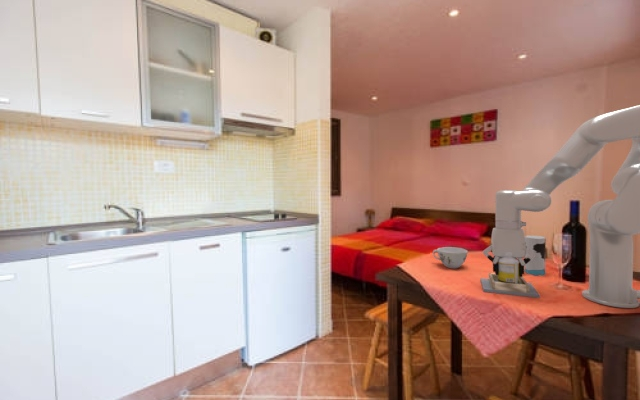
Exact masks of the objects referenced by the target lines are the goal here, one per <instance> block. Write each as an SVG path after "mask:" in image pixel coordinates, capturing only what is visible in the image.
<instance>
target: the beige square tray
mask: <svg viewBox="0 0 640 400" xmlns="http://www.w3.org/2000/svg"><path fill="white" fill-rule="evenodd" d="M488 279H489V282H490V284H491V287H492V289H495V290H504V291H514V292H523V293H529V285H528V283H529V282H527V281H526V279H525V278H524V277H523V275H522V277H520V276H519V283H520V284H513V283H503V282H495V281H498V275H496V274H495V273H494V272H493V273H491V272H488Z"/></svg>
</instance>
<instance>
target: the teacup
mask: <svg viewBox="0 0 640 400" xmlns="http://www.w3.org/2000/svg"><path fill="white" fill-rule="evenodd" d="M435 253H437V256H436V255H435ZM432 255H433V257H434V258H435V259H436V260H438V261H440V262H441V263H442V265H444V267H446V268H449V269H458V268H460V267H461V266H462V265H463V264H464V263H465V261H467V260H466V259H467V258H468V257H467V256H468V250H467V249H464V248H462V247H455V246H453V247H452V246H445V247H444V246H443V247H438V248H437V249H433V251H432Z"/></svg>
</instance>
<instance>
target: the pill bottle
mask: <svg viewBox="0 0 640 400" xmlns="http://www.w3.org/2000/svg"><path fill="white" fill-rule="evenodd" d="M506 256H507V257H500V258H499V259H498V261H497V264H498V282H503V283H513V284H519V260H518V258H513V257H511V256H513V255H512V253H511V252H507V253H506Z"/></svg>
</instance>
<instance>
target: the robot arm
mask: <svg viewBox="0 0 640 400" xmlns="http://www.w3.org/2000/svg"><path fill="white" fill-rule="evenodd" d="M629 139H630V140H631V142H632V143H631V144H632V145H631V148H630V151H629V153H628V154H627V156H626V158H625V160H624V161H623V162H622V164H621V166H620V167H619V169H618V170H617V172H616V174H615V175H614V176H613V178H612V180H611V183H610V188H611V190H612V192H613V193H614V194H615V195H616V197H615V198H614V199H604V200H600V201H598V202H596V203H594V204H592V206H591V207H590V208H589V210H588V212H587V225H588V231H589V232H588V233H589V269H588V270H589V271H588V275H589V276H588V277H589V278H588V289H584V290H582V292H581V293H582V294H581V295H582V297H584V299H587V300H589V301H590V302H593V303H596V304H601V305H603V306H609V307H614V308H621V309H622V308H623V309H634V308H639V306H640V301H639V300H640V289H635V288H633V275H634V273H633V272H634V271H633V270H634V238H633V236H634V235H639V234H640V104H639V105H635V106H630V107H627V108H623V109H620V110H619V109H618V110H615V111H611V112H606V113H603V114H600V115H597V116H595V117H592V118H590V119H589V120H586V121H585V122H583V123H582V124H581V125H580V126H579V127H578V128H577V129H576V130H575V131H574V133H573V134H572V135H571V136H569V139H567V141H566V142H565V143H564V144H563V146H562V147H561V148H560V149H559V150H558V151H556V153H555V154H554V156H553V157H552V158H551V159H550V160H549V161H548V162H547V163H546V164H545V165H544V166H543V167H542V168H541V170H540V171H538V172H537V174H535V175H534V176H533V177H532V179H531V180H530V181H529V182H528V184H526V185H525V186H524V188H523V189H522V190H521V191H519V190H515V189H507V190H505V189H502V190H498V191H497V192H495V201H494V202H495V208H494V209H495V227H493V228H492V231H491V240H490V245H489V246H488V247H486V248H485V249H484V250H483V251H482V254H483V255H484V256H485V257H486V258H487V259H488V260H489V261H490V262H491V263H492V271H493V273H494V274H496V275H498V264H497V261H498V259H499V258H500V257H507V256H506V253H507V252H511V253H512V255H513V256H511V257H513V258H517V259H518V260H519V276H520V277H522V276H523V275H525V265H526V264H527V263H528V262H529V261H530V260H531V259H533V258H534V257H535V256H536V255H535V254H534V253H532V252H531V251H530V250H529V249H528V248H526V243H525V236H526V235H525V231H524V229H523V228H522V227H526V226H527V223H526V222H527V221H522V211H525V212H526V211H527V212H534V213H538V212H543V211H546V210H547V209H548V208H549V207H550V206H551V204H552V197H551V196H550V195H551V194H552V193H553V192H554V190H556V189H557V188H558V187H559V186H560V185H561V184H564V182H565V181H568V180H569V179H571V178H573V177H575V176H576V175H578V174H579V173H580V172H582V170H583V169H584V168H586V166H587V165H588V164H589V163H590V162H591V161H592V160H593V159H594V158H595V156H597V154H598V153H599V152H600V151H601V150H602V149H603V148H604V147H605V146H606V144H609V143H613V142H619V141H625V140H629ZM490 252H491V254H492V255H493V256H492V255H490ZM526 252H527V253H528V254H529V255H528V256H527V257H526V258H525V256H526Z"/></svg>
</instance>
